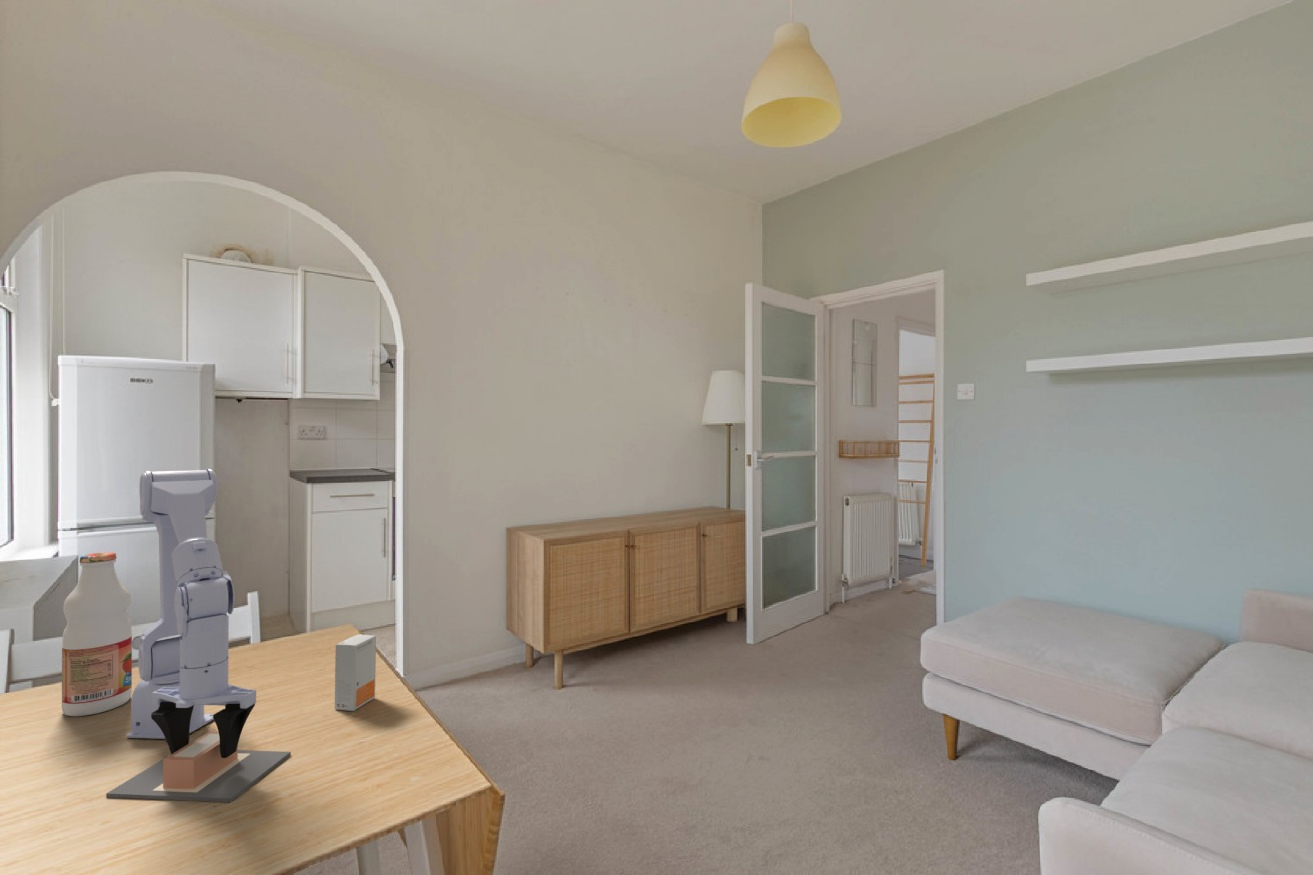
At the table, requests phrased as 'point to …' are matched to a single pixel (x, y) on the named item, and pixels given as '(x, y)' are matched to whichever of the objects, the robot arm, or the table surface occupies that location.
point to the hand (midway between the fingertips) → (204, 753)
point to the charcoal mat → (214, 789)
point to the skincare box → (355, 672)
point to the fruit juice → (96, 640)
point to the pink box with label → (195, 762)
